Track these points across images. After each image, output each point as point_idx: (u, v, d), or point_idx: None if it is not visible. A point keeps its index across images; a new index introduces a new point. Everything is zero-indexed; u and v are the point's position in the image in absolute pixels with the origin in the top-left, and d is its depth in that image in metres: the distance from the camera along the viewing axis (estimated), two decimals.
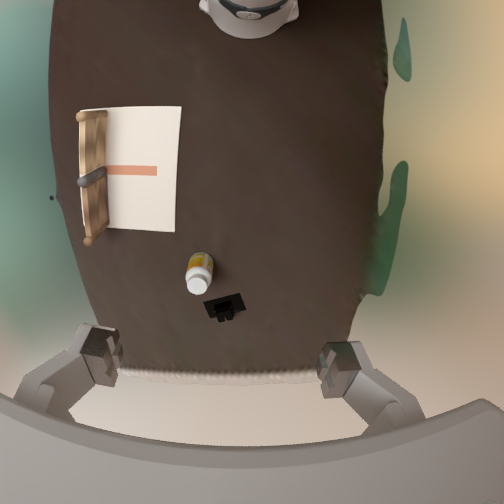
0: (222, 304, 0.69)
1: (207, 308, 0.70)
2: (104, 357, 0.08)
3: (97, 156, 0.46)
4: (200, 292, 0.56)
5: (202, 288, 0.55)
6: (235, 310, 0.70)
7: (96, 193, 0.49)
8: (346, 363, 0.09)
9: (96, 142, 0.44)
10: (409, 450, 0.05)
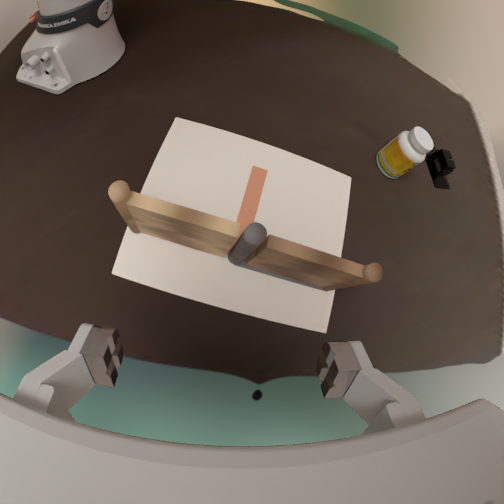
0: (434, 165, 0.44)
1: (440, 186, 0.44)
2: (104, 357, 0.08)
3: None
4: (430, 138, 0.33)
5: (425, 133, 0.33)
6: None
7: None
8: (346, 363, 0.09)
9: None
10: (409, 450, 0.05)
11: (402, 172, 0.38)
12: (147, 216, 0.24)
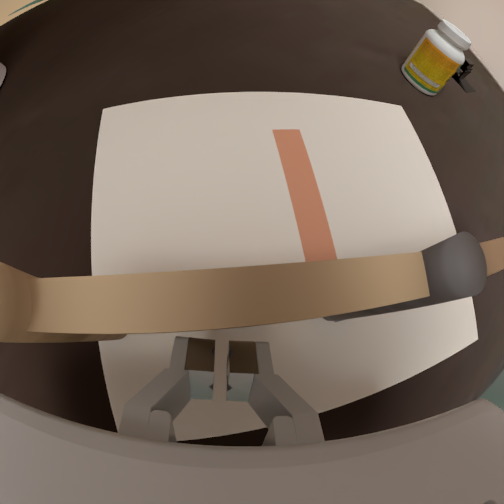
0: None
1: (468, 89, 0.29)
2: (213, 371, 0.09)
3: None
4: (460, 31, 0.16)
5: (454, 26, 0.16)
6: None
7: None
8: (242, 365, 0.09)
9: None
10: (409, 450, 0.05)
11: (445, 82, 0.22)
12: None
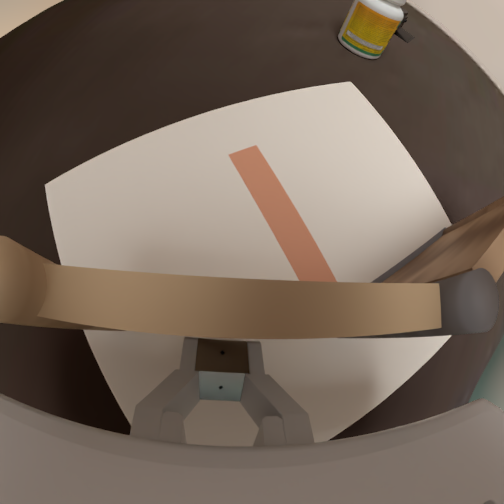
0: None
1: (408, 38, 0.29)
2: None
3: None
4: None
5: None
6: None
7: (431, 265, 0.12)
8: (233, 364, 0.09)
9: None
10: (409, 450, 0.05)
11: (387, 42, 0.21)
12: None
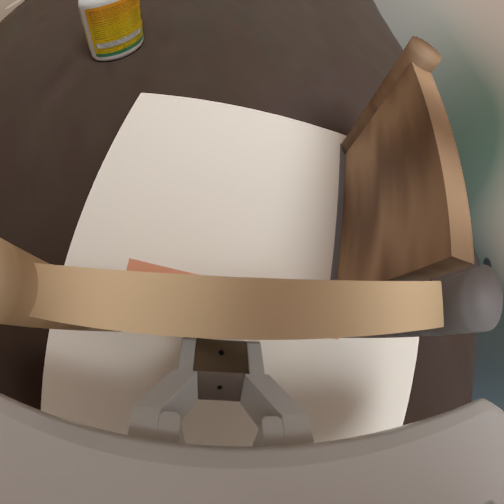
0: None
1: None
2: None
3: None
4: None
5: None
6: None
7: (383, 229, 0.11)
8: (232, 364, 0.09)
9: None
10: (409, 450, 0.05)
11: (141, 19, 0.17)
12: None
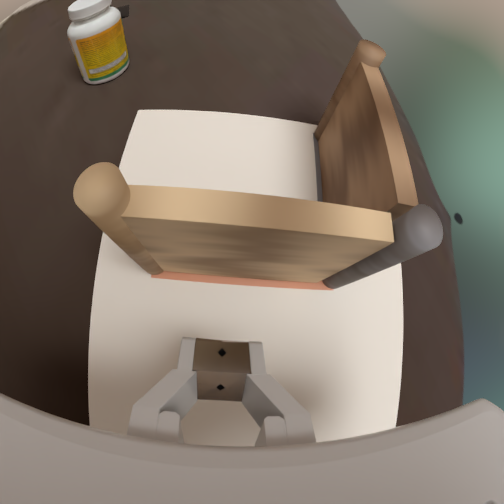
0: None
1: (125, 11, 0.26)
2: (221, 371, 0.09)
3: None
4: None
5: (80, 0, 0.13)
6: None
7: (352, 195, 0.15)
8: (234, 364, 0.09)
9: None
10: (409, 450, 0.05)
11: (125, 43, 0.20)
12: (178, 237, 0.11)
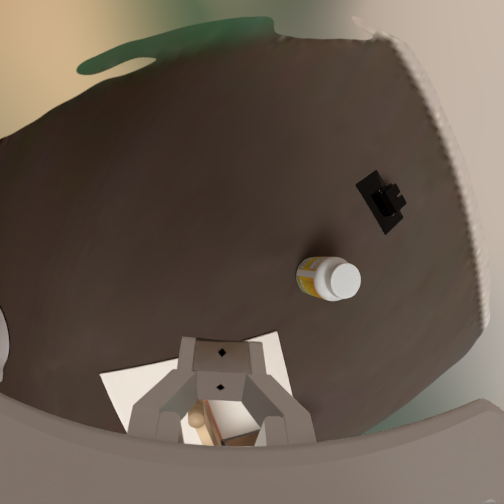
0: (380, 205, 0.42)
1: (392, 225, 0.43)
2: (221, 371, 0.09)
3: (218, 442, 0.32)
4: (355, 271, 0.31)
5: (348, 270, 0.31)
6: (382, 184, 0.43)
7: None
8: (234, 364, 0.09)
9: (212, 429, 0.32)
10: (409, 450, 0.05)
11: None
12: None
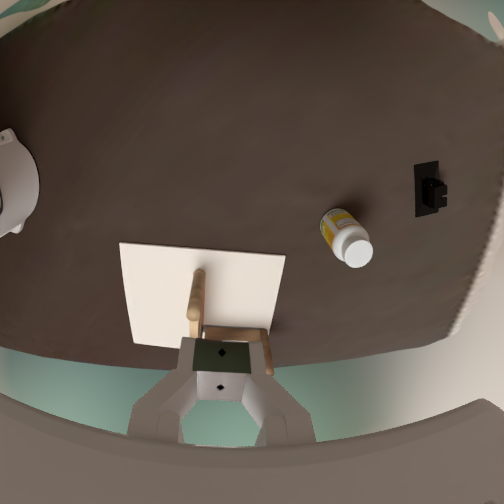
0: (424, 192, 0.40)
1: (424, 213, 0.43)
2: (221, 371, 0.09)
3: None
4: (370, 250, 0.34)
5: (364, 246, 0.34)
6: (436, 176, 0.39)
7: None
8: (234, 364, 0.09)
9: (200, 318, 0.43)
10: (409, 450, 0.05)
11: None
12: None
